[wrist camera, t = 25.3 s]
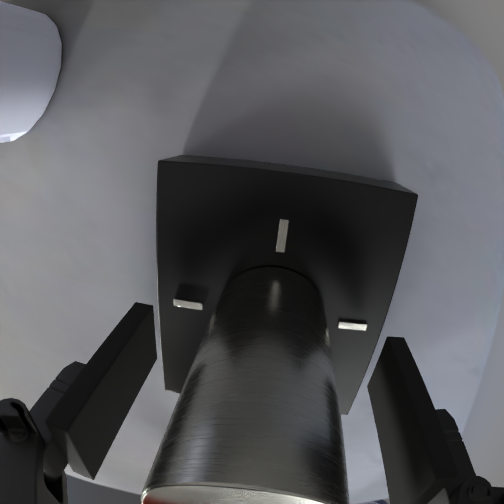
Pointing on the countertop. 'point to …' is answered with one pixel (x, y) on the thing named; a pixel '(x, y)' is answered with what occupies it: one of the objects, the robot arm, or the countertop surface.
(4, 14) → the soap bottle
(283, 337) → the dial
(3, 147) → the countertop surface
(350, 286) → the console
